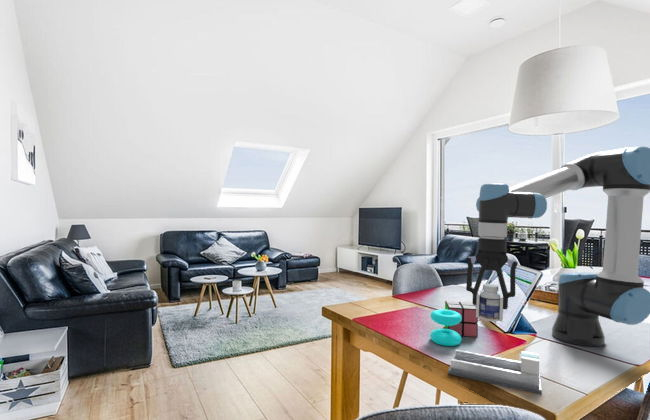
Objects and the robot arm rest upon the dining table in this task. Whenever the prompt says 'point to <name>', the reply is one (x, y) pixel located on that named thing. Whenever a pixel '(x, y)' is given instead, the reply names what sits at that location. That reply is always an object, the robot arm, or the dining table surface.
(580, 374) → the dining table surface
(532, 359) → the block
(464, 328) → the puzzle cube
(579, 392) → the dining table surface
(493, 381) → the rail plate
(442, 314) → the donuts
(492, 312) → the pill bottle
